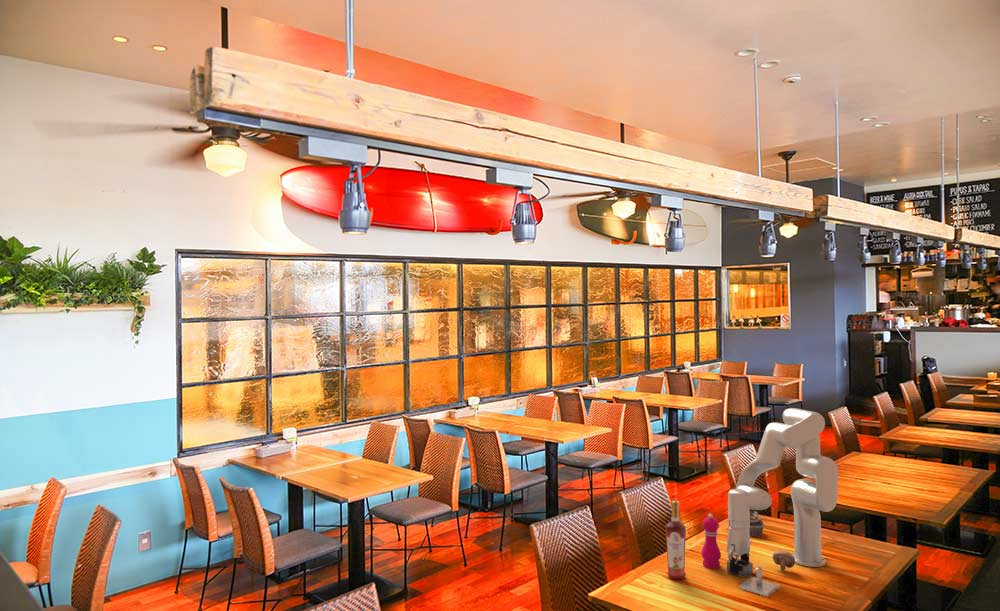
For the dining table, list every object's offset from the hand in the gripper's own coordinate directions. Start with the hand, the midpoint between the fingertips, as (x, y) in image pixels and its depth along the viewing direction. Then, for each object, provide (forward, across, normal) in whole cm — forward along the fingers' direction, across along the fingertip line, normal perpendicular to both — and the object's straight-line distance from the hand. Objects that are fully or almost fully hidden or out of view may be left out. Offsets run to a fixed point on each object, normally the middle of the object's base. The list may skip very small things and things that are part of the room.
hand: (739, 569), depth 241 cm
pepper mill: (+1, +1, -11) cm, 11 cm away
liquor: (+2, +20, -15) cm, 25 cm away
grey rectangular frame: (+1, 0, 0) cm, 1 cm away
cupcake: (+1, -44, -15) cm, 47 cm away
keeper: (+1, +8, +11) cm, 14 cm away
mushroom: (+1, -13, +11) cm, 17 cm away
